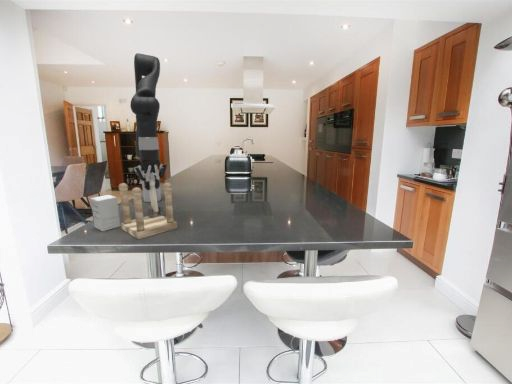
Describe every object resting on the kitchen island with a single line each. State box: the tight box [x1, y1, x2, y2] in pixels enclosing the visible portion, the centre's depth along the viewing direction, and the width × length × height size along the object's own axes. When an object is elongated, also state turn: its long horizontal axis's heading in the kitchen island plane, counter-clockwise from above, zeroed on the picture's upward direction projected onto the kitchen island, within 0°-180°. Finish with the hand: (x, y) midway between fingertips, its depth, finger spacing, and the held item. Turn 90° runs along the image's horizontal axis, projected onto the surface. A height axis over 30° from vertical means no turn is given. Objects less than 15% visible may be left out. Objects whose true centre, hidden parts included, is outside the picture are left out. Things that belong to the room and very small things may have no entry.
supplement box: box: [90, 194, 121, 232], centre depth 108 cm, size 7×7×13 cm
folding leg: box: [149, 179, 159, 213], centre depth 114 cm, size 3×3×14 cm
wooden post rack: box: [118, 182, 179, 240], centre depth 106 cm, size 16×17×19 cm
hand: (152, 188), depth 114 cm, fingers closed on folding leg, 3 cm apart
